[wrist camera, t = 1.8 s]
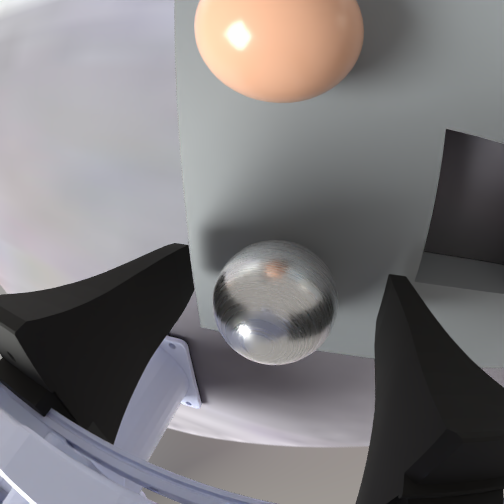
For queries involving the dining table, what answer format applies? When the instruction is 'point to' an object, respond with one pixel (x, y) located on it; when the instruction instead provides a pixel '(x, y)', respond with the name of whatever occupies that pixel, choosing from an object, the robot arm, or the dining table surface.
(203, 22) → the terracotta ball
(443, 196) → the dining table surface
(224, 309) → the steel ball
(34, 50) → the dining table surface
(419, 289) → the hole plate
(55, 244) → the dining table surface
